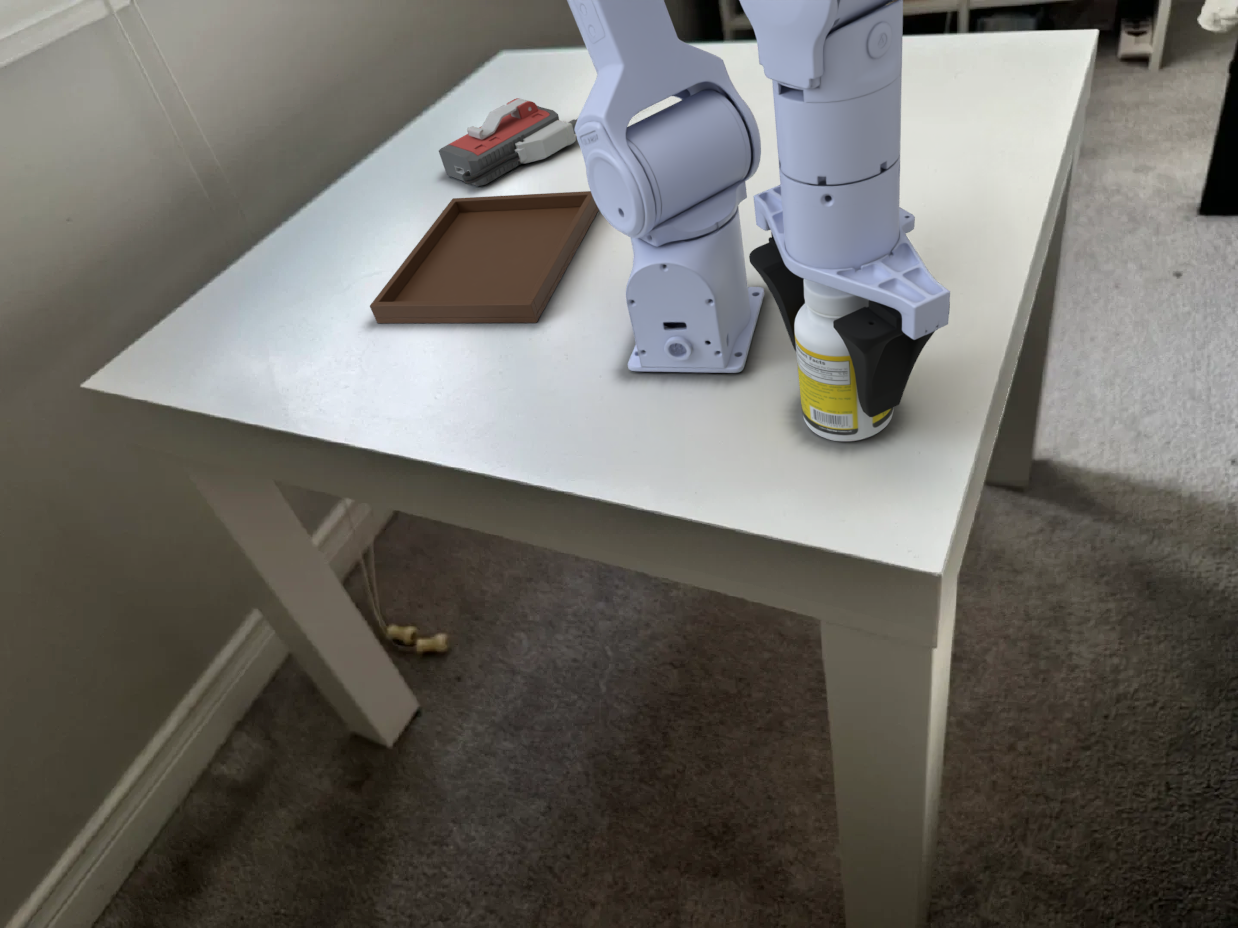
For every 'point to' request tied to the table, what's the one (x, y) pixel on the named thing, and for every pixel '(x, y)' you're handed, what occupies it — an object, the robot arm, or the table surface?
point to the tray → (488, 260)
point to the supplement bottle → (830, 368)
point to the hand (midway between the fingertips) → (845, 377)
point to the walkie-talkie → (506, 142)
